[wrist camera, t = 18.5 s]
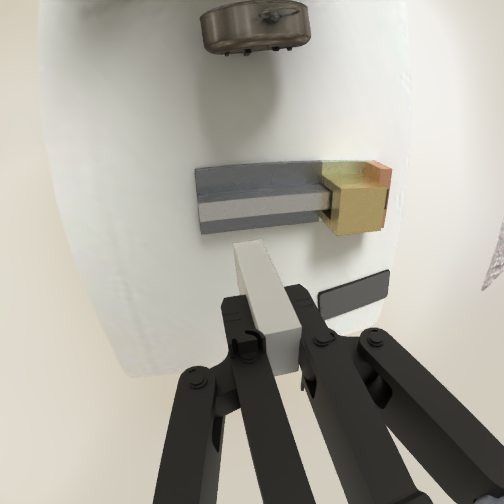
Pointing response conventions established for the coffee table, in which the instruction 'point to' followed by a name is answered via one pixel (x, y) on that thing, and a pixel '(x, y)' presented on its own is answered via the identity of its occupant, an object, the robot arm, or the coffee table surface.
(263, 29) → the alarm clock
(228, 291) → the coffee table surface
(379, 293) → the smartphone
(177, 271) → the coffee table surface
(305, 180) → the rail
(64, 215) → the coffee table surface
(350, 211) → the clip
